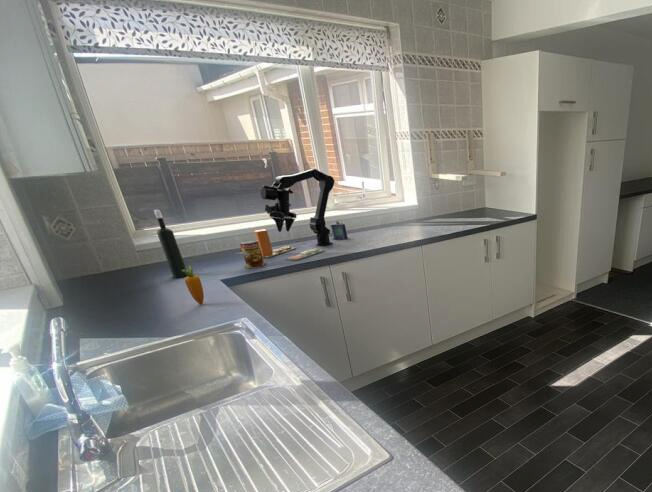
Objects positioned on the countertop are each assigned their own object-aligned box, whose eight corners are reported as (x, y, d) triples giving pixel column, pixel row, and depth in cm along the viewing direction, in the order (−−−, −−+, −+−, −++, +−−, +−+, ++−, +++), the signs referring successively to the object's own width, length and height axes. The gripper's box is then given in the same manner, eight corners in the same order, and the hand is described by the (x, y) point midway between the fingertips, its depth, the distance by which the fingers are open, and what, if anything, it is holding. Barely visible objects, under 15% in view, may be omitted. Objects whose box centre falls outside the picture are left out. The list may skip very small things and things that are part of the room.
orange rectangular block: (270, 253, 229) (264, 229, 223) (273, 254, 226) (267, 230, 221) (260, 255, 225) (254, 230, 220) (263, 256, 223) (256, 231, 217)
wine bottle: (186, 276, 195) (162, 210, 182) (172, 278, 193) (146, 211, 180) (189, 273, 200) (166, 208, 187) (175, 275, 198) (150, 209, 185)
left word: (286, 248, 241) (285, 245, 240) (295, 248, 239) (295, 246, 238) (258, 256, 225) (257, 253, 224) (268, 257, 223) (267, 254, 222)
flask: (332, 239, 259) (328, 221, 254) (334, 238, 262) (331, 220, 257) (346, 239, 258) (343, 221, 253) (348, 238, 261) (345, 220, 256)
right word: (313, 250, 234) (312, 247, 233) (323, 251, 232) (322, 248, 231) (286, 259, 218) (286, 256, 218) (297, 260, 216) (296, 257, 215)
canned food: (249, 268, 204) (241, 244, 199) (245, 265, 210) (237, 241, 205) (266, 265, 209) (259, 241, 204) (262, 262, 214) (255, 238, 209)
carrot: (197, 307, 158) (183, 269, 152) (191, 305, 161) (177, 267, 154) (211, 303, 162) (198, 265, 155) (204, 301, 164) (191, 264, 158)
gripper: (276, 200, 231) (276, 229, 235) (258, 198, 213) (259, 230, 217) (296, 202, 232) (297, 231, 236) (280, 201, 214) (281, 232, 218)
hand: (283, 231), depth 227 cm, fingers open, 9 cm apart
